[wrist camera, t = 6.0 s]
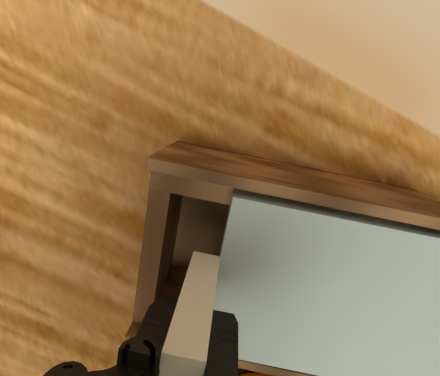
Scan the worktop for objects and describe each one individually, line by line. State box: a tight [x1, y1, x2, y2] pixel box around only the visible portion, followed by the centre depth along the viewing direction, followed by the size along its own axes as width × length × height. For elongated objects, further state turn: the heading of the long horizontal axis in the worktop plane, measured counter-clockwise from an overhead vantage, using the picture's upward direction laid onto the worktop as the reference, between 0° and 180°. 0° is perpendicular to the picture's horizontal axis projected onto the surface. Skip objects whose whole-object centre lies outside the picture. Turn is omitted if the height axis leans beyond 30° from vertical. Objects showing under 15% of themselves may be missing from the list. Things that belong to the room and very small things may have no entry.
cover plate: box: [213, 189, 440, 376], centre depth 16 cm, size 16×10×2 cm, turn 79°
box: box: [125, 141, 440, 376], centre depth 19 cm, size 18×12×7 cm, turn 79°
